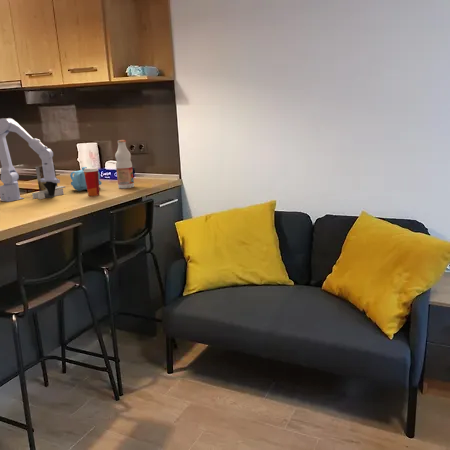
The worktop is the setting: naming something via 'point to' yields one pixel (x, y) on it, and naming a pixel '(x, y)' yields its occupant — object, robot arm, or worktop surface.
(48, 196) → the gray block
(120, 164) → the fruit juice
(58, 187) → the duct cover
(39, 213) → the worktop surface
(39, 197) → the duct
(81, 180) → the decorative pot
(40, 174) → the coffee box
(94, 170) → the coffee cup
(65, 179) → the worktop surface
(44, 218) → the worktop surface
